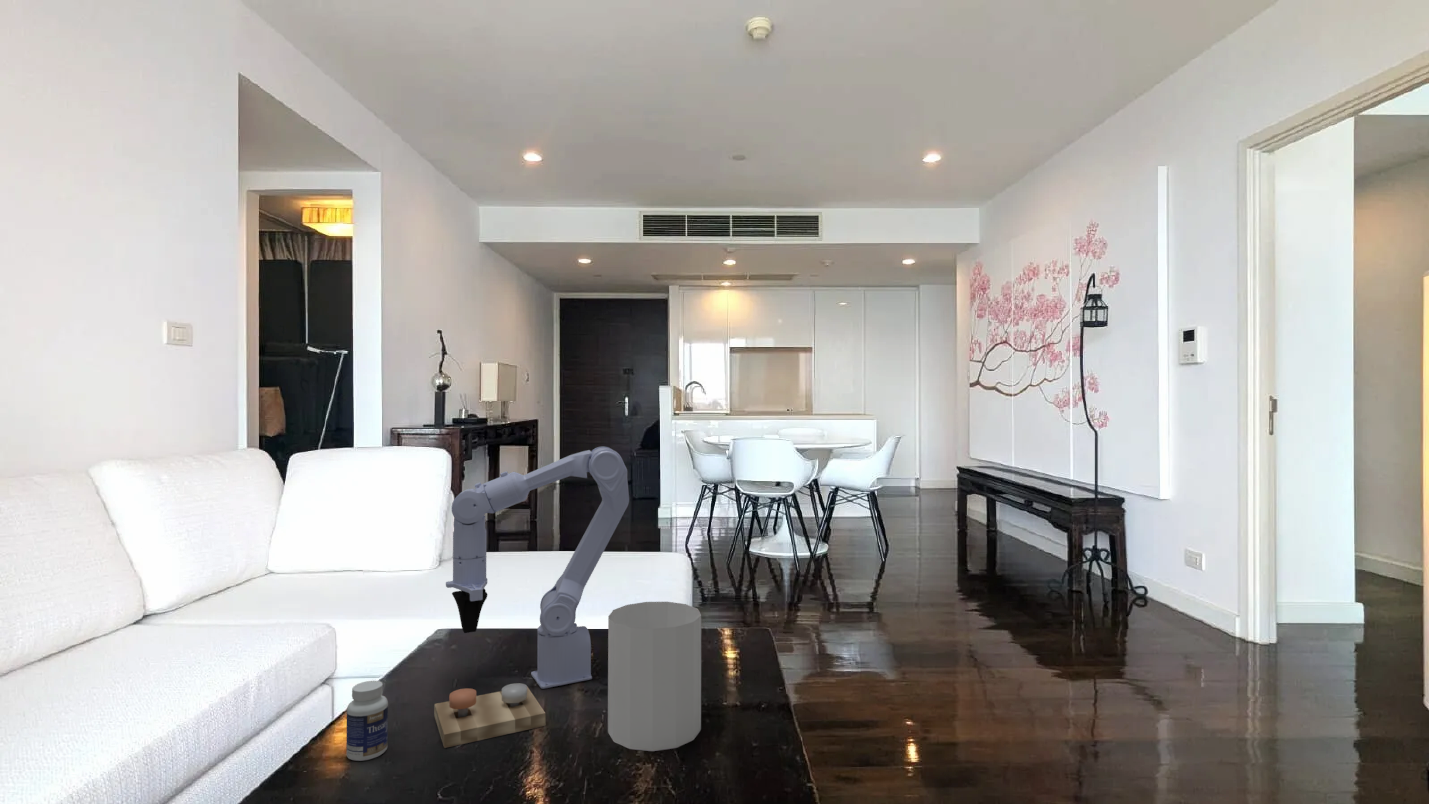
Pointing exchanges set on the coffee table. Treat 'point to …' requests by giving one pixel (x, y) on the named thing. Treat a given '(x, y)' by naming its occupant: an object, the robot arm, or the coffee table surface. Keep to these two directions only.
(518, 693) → the grey plunger
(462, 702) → the rust plunger
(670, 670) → the container
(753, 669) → the coffee table surface
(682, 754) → the coffee table surface
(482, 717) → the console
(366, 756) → the pill bottle
